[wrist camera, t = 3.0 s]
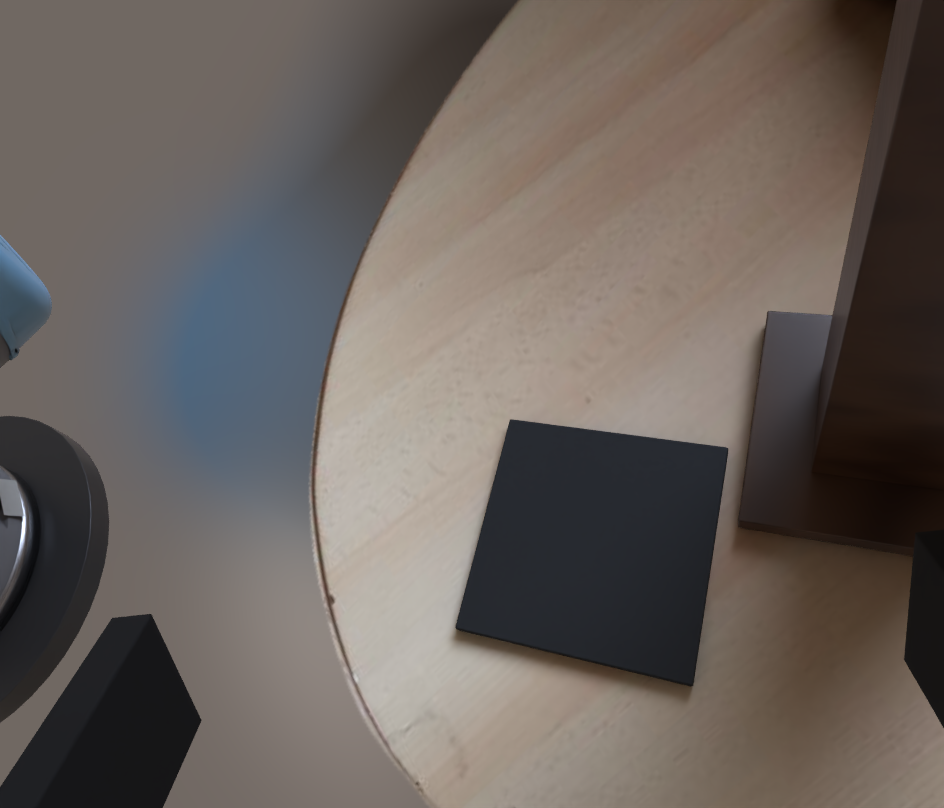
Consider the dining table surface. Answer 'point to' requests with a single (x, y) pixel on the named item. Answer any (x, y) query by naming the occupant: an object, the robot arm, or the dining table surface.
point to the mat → (598, 548)
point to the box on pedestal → (868, 338)
